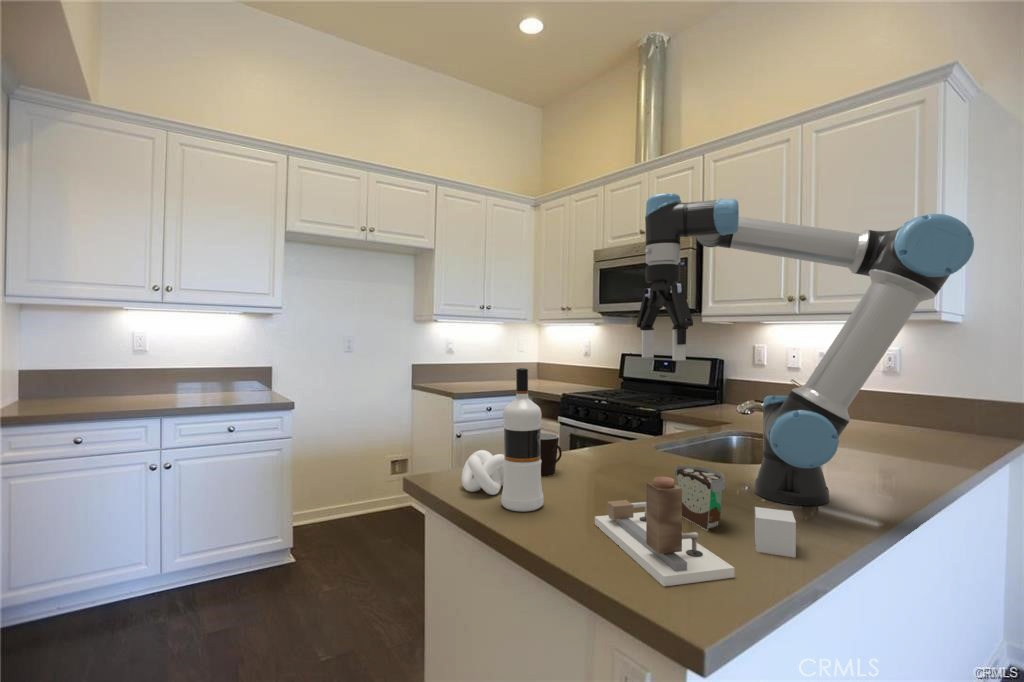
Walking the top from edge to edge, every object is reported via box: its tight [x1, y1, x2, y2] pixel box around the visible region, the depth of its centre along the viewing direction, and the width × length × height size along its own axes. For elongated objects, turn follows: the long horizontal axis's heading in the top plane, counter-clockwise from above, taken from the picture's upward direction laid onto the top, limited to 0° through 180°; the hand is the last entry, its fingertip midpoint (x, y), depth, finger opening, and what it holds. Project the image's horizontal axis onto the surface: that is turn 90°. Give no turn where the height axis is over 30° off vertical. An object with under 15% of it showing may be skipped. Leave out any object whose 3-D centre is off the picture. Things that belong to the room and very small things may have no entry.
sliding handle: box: [645, 476, 699, 554], centre depth 83 cm, size 8×4×12 cm, turn 104°
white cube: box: [754, 506, 797, 558], centre depth 90 cm, size 6×6×6 cm
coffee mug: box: [541, 432, 563, 477], centre depth 138 cm, size 12×9×10 cm
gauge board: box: [594, 499, 735, 587], centre depth 90 cm, size 12×26×5 cm, turn 14°
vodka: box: [500, 367, 545, 513], centre depth 112 cm, size 9×9×30 cm
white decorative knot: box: [461, 449, 504, 496], centre depth 124 cm, size 11×12×9 cm
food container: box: [673, 465, 727, 533], centre depth 103 cm, size 12×6×10 cm, turn 17°
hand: (662, 359), depth 117 cm, fingers open, 13 cm apart
